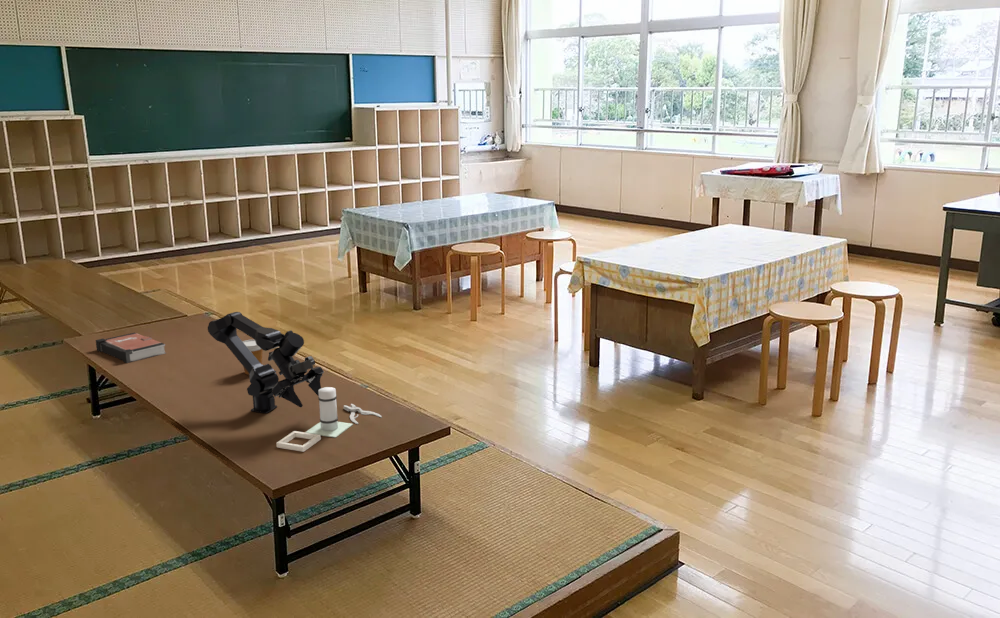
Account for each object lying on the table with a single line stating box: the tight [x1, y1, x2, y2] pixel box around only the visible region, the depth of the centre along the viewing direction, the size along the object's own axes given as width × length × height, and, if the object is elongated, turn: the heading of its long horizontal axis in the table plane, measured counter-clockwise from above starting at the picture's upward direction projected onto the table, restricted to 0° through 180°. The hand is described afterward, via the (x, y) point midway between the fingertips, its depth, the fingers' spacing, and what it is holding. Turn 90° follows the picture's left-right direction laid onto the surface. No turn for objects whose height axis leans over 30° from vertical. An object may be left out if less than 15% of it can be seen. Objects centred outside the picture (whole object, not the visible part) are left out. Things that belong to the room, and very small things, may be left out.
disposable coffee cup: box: [242, 339, 264, 376], centre depth 313 cm, size 10×10×12 cm
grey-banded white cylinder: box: [317, 386, 339, 431], centre depth 260 cm, size 6×6×13 cm
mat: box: [305, 421, 354, 439], centre depth 262 cm, size 11×11×1 cm
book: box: [95, 332, 166, 364], centre depth 340 cm, size 26×18×5 cm
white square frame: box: [276, 430, 322, 453], centre depth 251 cm, size 10×10×2 cm
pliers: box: [343, 403, 383, 425], centre depth 274 cm, size 10×2×15 cm
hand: (312, 402), depth 264 cm, fingers open, 9 cm apart
